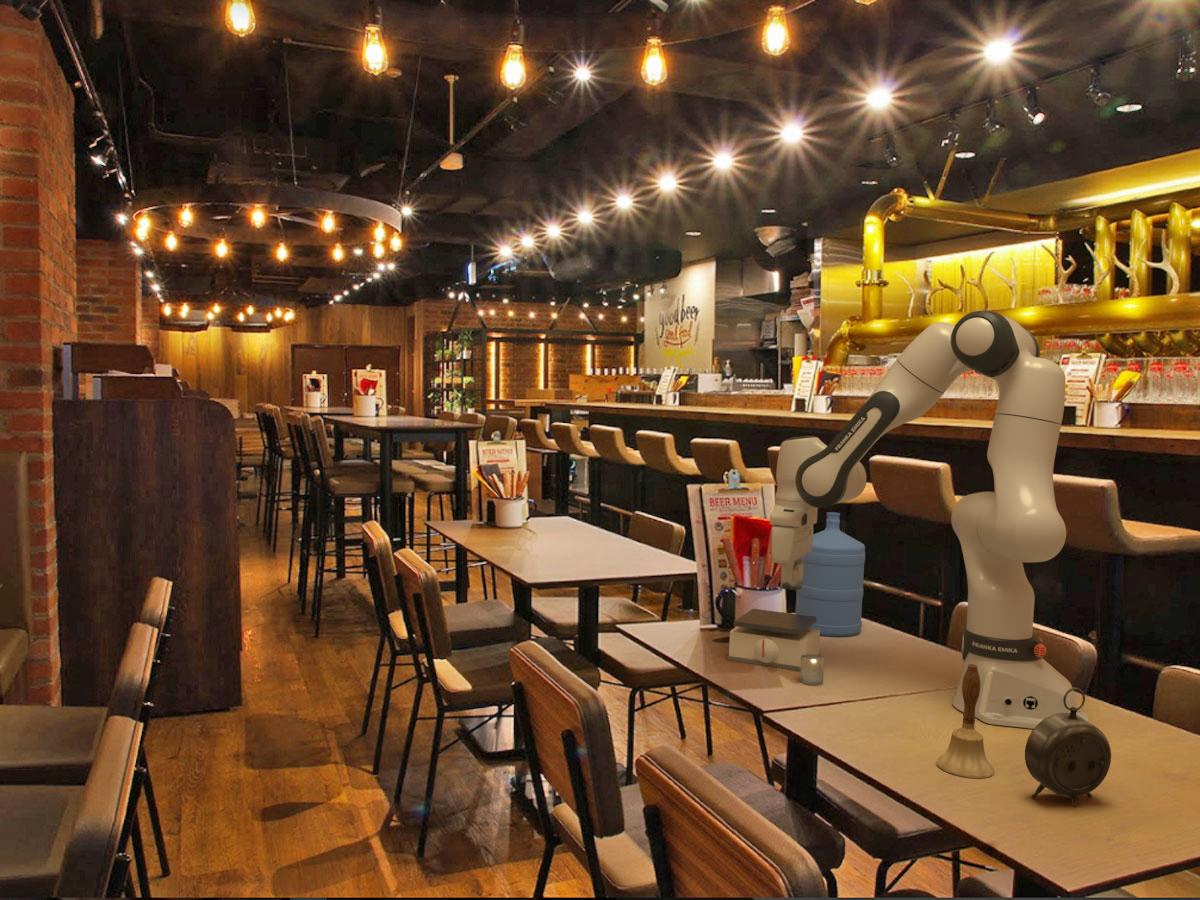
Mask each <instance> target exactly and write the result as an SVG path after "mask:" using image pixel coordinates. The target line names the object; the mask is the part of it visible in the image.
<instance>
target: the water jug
mask: <svg viewBox="0 0 1200 900" xmlns="http://www.w3.org/2000/svg"><path fill="white" fill-rule="evenodd" d="M840 516H841V513H840V512H833V511H828V512H826V520H825V523H826V524H825V525H826V526H825V529H824V530H822V531H819V532H816V533H813V548H812V552H811V553H809V554H807V555H805V556H803V563H802V564H803V581H802V589H801V590H795V592H796V597H795V598H796V599H795V613H794V614H798V615H806V616H813V617H817V622H815V623H814V624H813V625H812V626H811V627H810V628H809V629H817V630H820V636H822V637H833V638H834V637H835V638H836V637H837V638H838V637H839V638H840V637H841V638H842V637H843V638H844V637H850V636H855V635H857V634H859V633H860V632H861V631H862V627H863V623H862V610H863V609H862V608H863V598H864V575H865V574H864V573H865V564H866V563H865V561H866V546H865V544H864V543H862V542H861V541H859V540H857V539H856V538H853V537H852V536H850V535H848V534H846V533H845V532H843V531H841V530H840V523H841V520H840Z"/></svg>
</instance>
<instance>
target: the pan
mask: <svg viewBox="0 0 1200 900" xmlns="http://www.w3.org/2000/svg"><path fill="white" fill-rule="evenodd" d="M815 622H817V617H813V616H806V615H798V614H795V613H790V612H789V613H788V612H781V611H775V610H774V611H773V610H766V609H758V608H752V609H750V610H749V611H747V612H746V613H744V614H742V615H741V616H740V617H738V618H736V619H735V620H733V626H734V627H737V626H738V627H745V628H752V629H759V630H766V631H774V632H781V633H788V634H795V635H801V634H803V633H804V632H805V631H806V630H807V629H808V628H810V627H811V626H812V625H813V624H814V623H815Z"/></svg>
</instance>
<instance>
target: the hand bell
mask: <svg viewBox="0 0 1200 900" xmlns="http://www.w3.org/2000/svg"><path fill="white" fill-rule="evenodd" d="M980 686H981V683H980V677H979V673H978V669H977V666H976V665H973V664H969V665H968V668H967V671H966V673H965V675H964V678H963V682H962V694H963V699H964V712H963V714H962V715H963V717H962V726H961V727H959V728H955V729H954V730H953V731H952V732H951V737H950V741H949V745H948V747H947V749H946V751H945V752H944V753H943V754H942V755H940V756H939V757H938V758H937V760H936V765H937V767H938V768H939V769H941V770H942V771H943V772H946V773H948V774H951V775H954V776H958V777H962V778H969V779H987V777H988V778H990V776H991V777H993V776H994V775H995V769H994V767H993V765H992V764H991V763H990V761H989V760H988V759H987V755H986V752H985V748H984V746H985V745H984V736H983V734H982V733H981V732H979V731H977V730H976V729H975V722H976V720H975V719H976V717H975V706H976V703H977V700H978V698H979V694H980ZM992 775H993V776H992Z"/></svg>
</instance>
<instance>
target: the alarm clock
mask: <svg viewBox="0 0 1200 900" xmlns="http://www.w3.org/2000/svg"><path fill="white" fill-rule="evenodd" d="M1072 690H1074V691H1078V692H1079V693H1080V694H1081V696H1082V701H1081V704H1080V706H1076V707H1078V708H1076V707H1071V708H1068V707H1067V705H1066V697H1067V695H1068V693H1069V692H1071V691H1072ZM1063 701H1064V706H1065V707H1066V708H1067V709H1068V710H1070V711H1071V712H1070V713H1058V714H1054V715H1051V716H1049V717H1047V718H1045V719H1044V720H1042V721H1041V722H1040V723H1039V724H1038V725H1037V726H1036V727H1035V728H1034V729H1032V731H1031V733H1030V734H1029V736H1028V738H1027V740H1026V742H1025V743H1026V744H1025V746H1024V747H1025V749H1024V761H1025V762H1024V763H1025V766H1026V768H1027V771H1028V772H1029V774H1030V775H1031V777H1032V778H1033V779H1034V780H1035V781H1037V782H1038V783H1039V785H1038V786H1037V787H1036V790H1035V791H1034V793H1033V794H1031V798H1032V799H1034V800H1035V799H1036V798H1037V797H1038V795H1039V794H1041V792H1042V791H1044V789H1045V788H1046V789H1048V790H1049V791H1051V792H1052V793H1053V794H1055V795H1058V796H1060V797H1063V798H1064V797H1065V798H1071V803H1072V806H1073V807H1075V808H1078V800H1077V798H1078V797H1082V796H1086V797H1087V798H1089V799H1090V798H1091V797H1092V794H1091V792H1093V791H1095V789H1097V788H1098V787H1099V786H1100V785H1101V784H1102V782H1104V780H1105V778H1106V776H1107V775H1108V773H1109V770H1110V767H1111V763H1112V750H1111V746H1110V745H1111V744H1110V743H1109V740H1108V738H1107V736H1106V735H1105V733H1104V732H1103V731H1102V730H1100V729H1099V728H1098V727H1097V726H1096V725H1094V724H1092V723H1090V721H1089V722H1087V721H1086V720H1084V719H1083V718H1081V717H1080V716H1078V715H1076V712H1077V711H1078V710H1079V709H1082V707H1084V705H1085V703H1086V702H1085V701H1086V695H1085V693H1084V692H1083V690H1082V689H1080V688H1079V687H1072V688H1071V689H1069V690H1068V691H1067V692H1066V693H1065V695H1064V699H1063Z"/></svg>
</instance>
